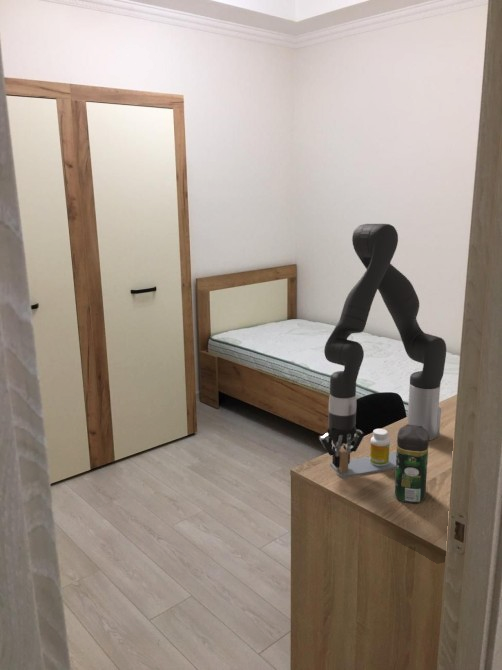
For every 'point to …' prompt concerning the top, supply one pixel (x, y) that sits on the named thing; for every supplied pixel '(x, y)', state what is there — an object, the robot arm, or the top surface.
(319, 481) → the top surface
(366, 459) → the strip
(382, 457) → the supplement bottle
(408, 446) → the coffee jar
